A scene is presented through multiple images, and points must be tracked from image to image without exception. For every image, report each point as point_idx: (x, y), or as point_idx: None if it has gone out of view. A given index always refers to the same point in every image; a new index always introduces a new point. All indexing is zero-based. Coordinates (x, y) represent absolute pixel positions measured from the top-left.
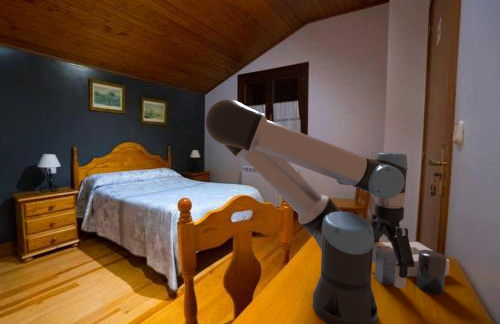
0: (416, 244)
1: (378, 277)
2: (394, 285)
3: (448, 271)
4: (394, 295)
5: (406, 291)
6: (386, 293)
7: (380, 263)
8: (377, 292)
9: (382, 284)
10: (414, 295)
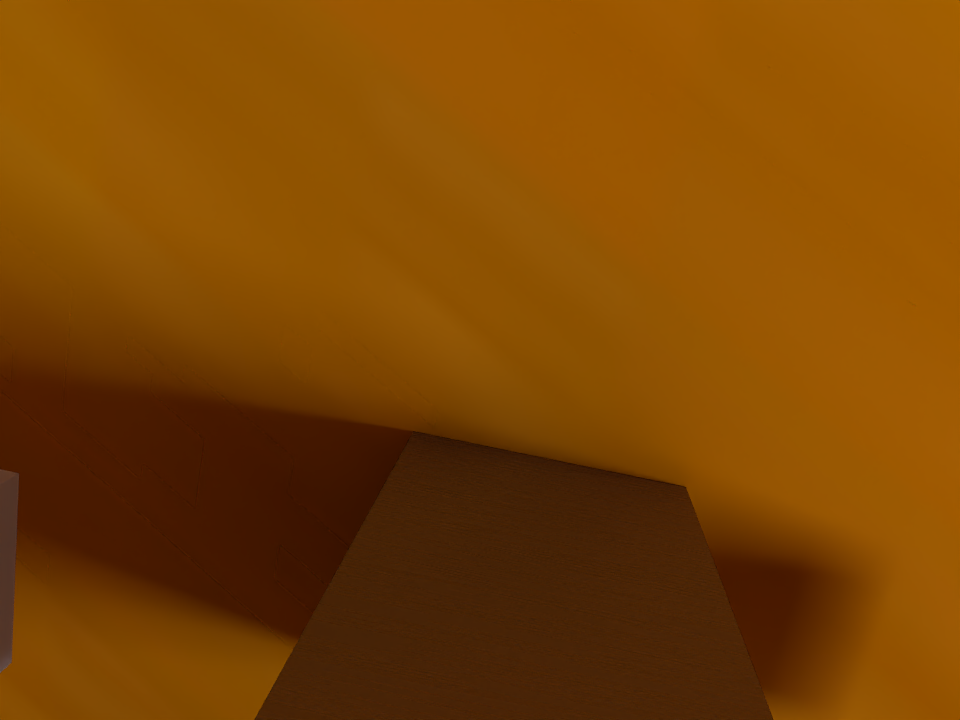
0: None
1: (546, 486)
2: (10, 480)
3: None
4: (80, 394)
5: (160, 676)
6: (148, 297)
7: (463, 711)
8: (198, 143)
9: (410, 438)
10: (51, 704)
